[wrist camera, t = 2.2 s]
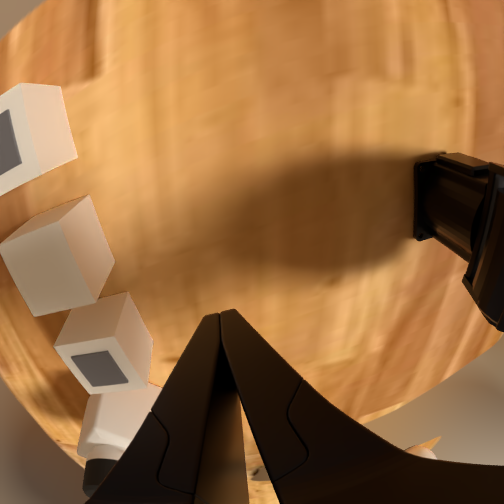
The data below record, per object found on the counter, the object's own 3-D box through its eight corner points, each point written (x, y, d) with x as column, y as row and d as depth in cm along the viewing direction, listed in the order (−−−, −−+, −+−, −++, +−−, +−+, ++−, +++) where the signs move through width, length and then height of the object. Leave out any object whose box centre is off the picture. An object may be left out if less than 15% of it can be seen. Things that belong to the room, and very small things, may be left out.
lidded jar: (435, 433, 46) (453, 464, 38) (410, 458, 51) (425, 487, 42) (400, 446, 44) (418, 482, 36) (375, 469, 48) (389, 502, 40)
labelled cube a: (153, 340, 23) (147, 390, 18) (100, 350, 23) (87, 396, 18) (128, 290, 21) (113, 338, 16) (72, 304, 20) (50, 349, 16)
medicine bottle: (87, 398, 25) (68, 499, 14) (107, 362, 23) (84, 484, 13) (148, 422, 28) (145, 520, 17) (177, 391, 26) (179, 508, 15)
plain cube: (115, 261, 19) (96, 302, 15) (60, 276, 19) (34, 317, 15) (89, 193, 17) (58, 221, 13) (33, 216, 17) (-3, 246, 12)
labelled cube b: (78, 157, 16) (40, 175, 11) (20, 184, 16) (-23, 208, 11) (61, 86, 14) (18, 82, 9) (3, 119, 13) (-44, 128, 9)
